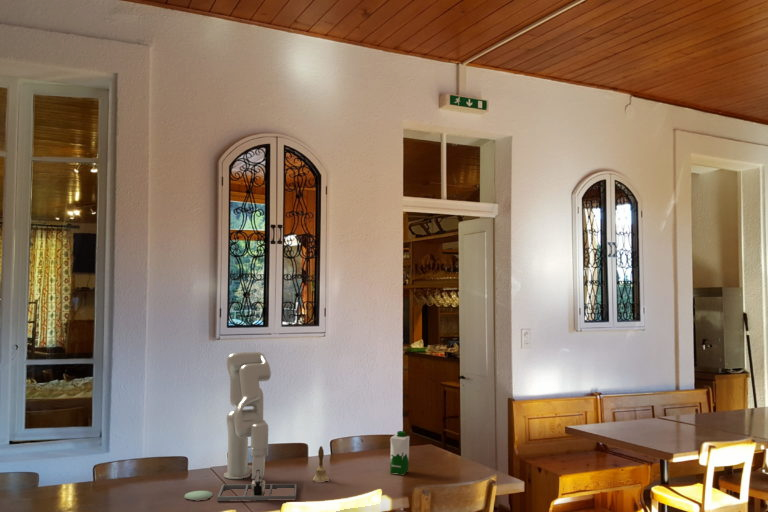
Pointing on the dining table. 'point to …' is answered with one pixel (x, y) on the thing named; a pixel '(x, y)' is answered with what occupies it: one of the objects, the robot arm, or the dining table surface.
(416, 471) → the dining table surface
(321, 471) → the hand bell
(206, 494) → the mat
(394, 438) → the milk carton
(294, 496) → the organiser
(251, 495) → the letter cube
